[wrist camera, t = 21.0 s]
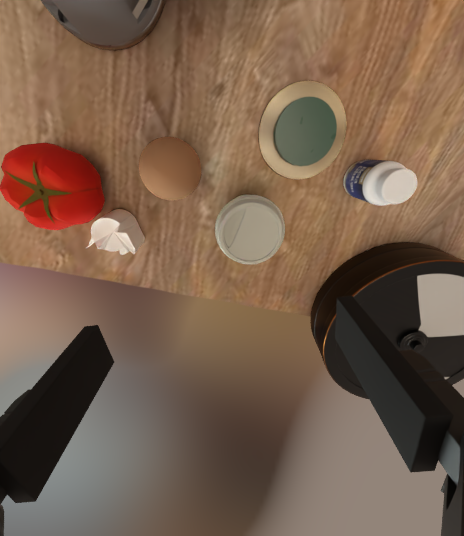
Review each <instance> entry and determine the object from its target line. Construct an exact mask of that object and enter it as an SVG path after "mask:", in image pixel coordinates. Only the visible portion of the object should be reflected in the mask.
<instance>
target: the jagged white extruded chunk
mask: <svg viewBox="0 0 464 536" xmlns="http://www.w3.org/2000/svg"><path fill="white" fill-rule="evenodd" d="M91 235H92V238H91V241H90V243H89V245H88V246H87V247H86V248H88V247H90V246H91V245H92V244H93V243H94V242H95V244H96V246H97V248H98V249H104V250H107V251H118V250H120V254H121V255H124V254H126V253H127V252H128V251H130V252H132V253H133V254H135V253H136V251H137V250H138V249H139V248H140V247H141V245H142V244H143V243H144V240H145V237H144V235H143V233H142V231H141V229H140V226H139V224H138V222H137V220H136V218H135V217H134V216H133V215H132V214H131V213H130V212H128V211H126V210H123V209H115V210H112V211H111V212H109V213H107V214H106V215H104V216H103V217H101V218H99V219H98V220H96V221H95V222H94V223H93V225H92V227H91Z"/></svg>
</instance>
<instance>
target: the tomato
mask: <svg viewBox="0 0 464 536" xmlns="http://www.w3.org/2000/svg"><path fill="white" fill-rule="evenodd" d="M1 168H2V170H3V172H4V177H3V179H2V182H1V185H0V191H1V192H2V194H3V196H4V198H5V200H6V201H8V202H9V203H10V204H11V205H12V206H13V207H14V208H15V209H17V210H20V211H22V212H24V215H25V217H26V218H27V220H28V222H30V223H31V224H33V225H35V226H36V227H40V228H44V229H49V230H60V229H64V228H67V227H69V226H72V225H76V224H83V223H87V222H89V221H91V220H92V219H93V218H94V217H95V216H97V215H98V214H99V213H100V212H101V210H102V207H103V205H104V202H105V198H104V195H103V191H102V188H101V177H100V175H99V174H98V172H97V170H96V169H95V167H94V166H93V165H92V164H91V163H90V162H89V161H88V160H87V159H86V158H85V157H84V156H82V155H81V154H78V153H75V152H72V151H70V150H67V149H64V148H62V147H59V146H57V145H54V144H49V143H38V144H28V145H21V146H20V147H18V148H16V149H14V150H12V151H10V152H9V153H7V154H6V155H5V157H4V160H3V163H2V166H1Z"/></svg>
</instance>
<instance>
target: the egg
mask: <svg viewBox="0 0 464 536" xmlns="http://www.w3.org/2000/svg"><path fill="white" fill-rule="evenodd" d="M139 172H140V177H141V179H142V181H143V183H144V185H145V186H146V188H147V189H148V190H149V191H150V192H151V193H152V194H154V195H155V196H157V197H159V198H162V199H164V200H180V199H183V198H185V197H187V196H188V195H190V194H191V193H192V192H193V191H194V190H195V189H196V188H197V186H198V184H199V181H200V178H201V164H200V160H199V157H198V155H197V154H196V152H195V151H194V149H193V148H192V147H191V146H190V145H189V144H187V143H186V142H185V141H183V140H181V139H178V138H174V137H162V138H157V139H155V140H153V141H152V142H150V143H149V144H148V145H147V146H146V147H145V148H144V150H143V152H142V154H141V156H140V160H139Z"/></svg>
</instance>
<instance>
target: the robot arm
mask: <svg viewBox="0 0 464 536" xmlns="http://www.w3.org/2000/svg"><path fill="white" fill-rule="evenodd" d="M41 1H42V3H43V4H44V5H45V7H46V8H47V9H48V11H49V12H50V13H51V14H52V15H53V16H54V17H55V18H56V19H57V21H58V22H59V23H60V24H61V25H62V26H64V27H65V28H66V29H67V30H68V31H70V32H71V33H72V34H74V35H75V36H76V37H78V38H79V39H81V40H82V41H84V42H85V43H87V44H89V45H92V46H94V47H97V48H101V49H106V50H121V49H125V48H129V47H131V46H133V45H135V44H137V43H139V42H140V41H141V40H143V39H144V38H145V37H146V36H147V35H148V34H149V33H150V32H151V30H152V29H153V28H154V26H155V25H156V23H157V21H158V19H159V17H160V15H161V13H162V10H163V7H164V4H165V0H41ZM335 339H336V341H337V342H338V344H339V346H340V348H341V349H342V351H343V353H344V355H345V357H346V358H347V360H348V362H349V364H350V365H351V367H352V369H353V371H354V373H355V374H356V376H357V378H358V380H359V381H360V383H361V385H362V387H363V389H364V390H365V392H366V394H367V396H368V397H369V399H370V401H371V403H372V405H373V406H374V408H375V410H376V412H377V413H378V415H379V417H380V419H381V420H382V422H383V424H384V426H385V427H386V429H387V431H388V433H389V435H390V436H391V438H392V440H393V442H394V444H395V445H396V447H397V449H398V451H399V453H400V454H401V456H402V458H403V460H404V461H405V463H406V465H407V466H408V468H409V470H410V472H421V471H434V470H435V468H436V464H437V462H438V460H439V462H440V463H441V464H442V466H443V467H444V469H445V470H446V472H447V476H446V479H445V481H444V484H443V486H442V489H441V491H442V492H443V493H444V505H443V517H442V530H441V536H464V398H463V397H462V396H461V395H460V394H459V393H458V391H457V390H456V389H454V387H453V386H452V385H451V384H450V383H449V382H448V381H446V380H445V378H444V377H443V376H442V375H441V374H440V373H439V372H438V371H436V368H435V367H434V366H433V365H432V364H431V363H430V362H429V361H428V360H427V359H426V358H425V357H423V356H422V355H420V354H418V353H417V352H415V351H414V350H412V349H411V350H401V351H398V349H397V348H396V347H395V346H394V345H393V344H392V342H391V341H390V340H389V339H388V338H387V336H386V335H385V334H384V333H383V332H382V331H381V329H380V328H379V327H378V326H377V325H376V324H375V322H374V321H373V320H372V319H371V318H370V316H369V315H368V314H367V313H366V312H365V311H364V309H363V308H362V307H361V306H360V305H359V304H358V302H357V301H356V300H355V299H354V298H353V296H343V297H337V308H336V332H335ZM113 363H114V361H113V358H112V356H111V354H110V352H109V349H108V347H107V345H106V343H105V340H104V338H103V336H102V334H101V331H100V329H99V326H98V325H95V326H86V327H84V328H83V329H82V330H81V332H80V333H79V334H78V335H77V336H76V338H75V339H74V340H73V341H72V342H71V343H70V345H69V346H68V347H67V348H66V349H65V350H64V352H63V353H62V354H61V355H60V356H59V357H58V359H57V360H56V361H55V362H54V363H53V364H52V366H51V367H50V368H49V369H48V370H47V372H46V373H45V374H44V375H43V376H42V378H41V379H40V380H39V381H38V382H37V383H36V384H35V386H34V387H33V388H32V389H31V390H27V391H26V392H25V393H24V394H23V395H21V396H20V397H19V398H18V399H16V400H15V401H14V402H13V403H12V404H11V406H10V407H9V408H8V409H7V410H6V411H5V414H4V415H2V416H1V417H0V536H4V509H3V506H2V505H1V503H2V501H3V500H4V498H5V496H6V495H7V494H8V496H10V498H11V499H12V500H13V501H14V502H15V503H21V502H34V501H36V500H37V498H38V496H39V494H40V493H41V491H42V489H43V487H44V485H45V484H46V482H47V480H48V479H49V477H50V475H51V473H52V471H53V470H54V468H55V466H56V464H57V462H58V461H59V459H60V457H61V455H62V454H63V452H64V450H65V448H66V447H67V445H68V443H69V441H70V440H71V438H72V436H73V434H74V432H75V431H76V429H77V427H78V425H79V424H80V422H81V420H82V418H83V417H84V415H85V413H86V411H87V409H88V408H89V406H90V404H91V402H92V401H93V399H94V397H95V395H96V393H97V392H98V390H99V388H100V386H101V385H102V383H103V381H104V379H105V377H106V376H107V374H108V372H109V370H110V369H111V367H112V365H113Z"/></svg>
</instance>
